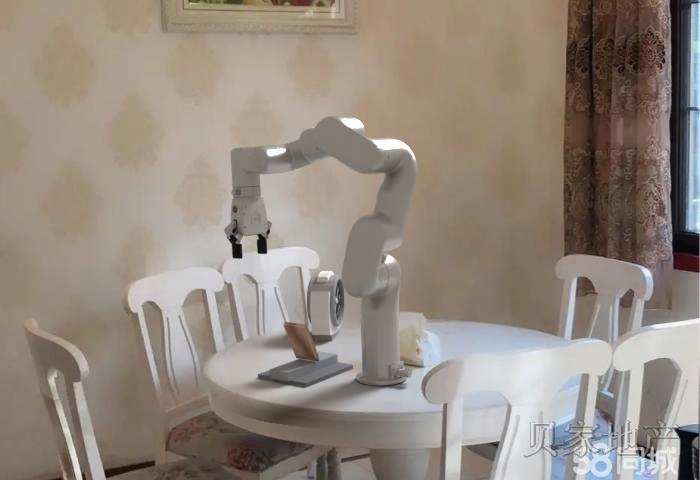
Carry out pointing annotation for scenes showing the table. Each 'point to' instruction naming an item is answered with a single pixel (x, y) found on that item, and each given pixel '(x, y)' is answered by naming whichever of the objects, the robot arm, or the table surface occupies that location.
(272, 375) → the grey ridged base plate
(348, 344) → the table surface
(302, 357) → the flap
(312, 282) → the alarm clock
